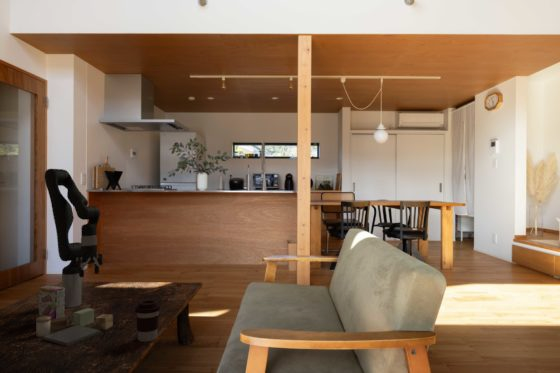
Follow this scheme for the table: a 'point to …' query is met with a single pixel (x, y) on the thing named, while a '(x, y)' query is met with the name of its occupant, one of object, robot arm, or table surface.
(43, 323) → the cream jar
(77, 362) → the table surface
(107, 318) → the oak cube
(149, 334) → the coffee cup
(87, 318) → the sage block
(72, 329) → the board
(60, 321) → the walnut block
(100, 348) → the table surface
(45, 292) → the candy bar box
